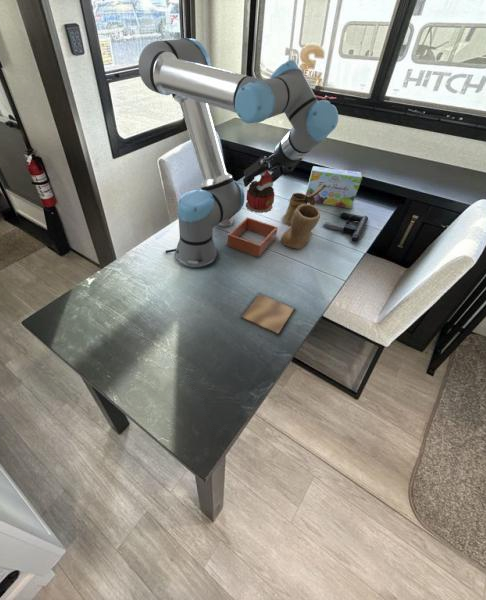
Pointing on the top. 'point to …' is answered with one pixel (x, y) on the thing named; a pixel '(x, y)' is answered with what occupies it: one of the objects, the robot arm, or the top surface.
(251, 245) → the orange square tray
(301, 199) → the brown watering can
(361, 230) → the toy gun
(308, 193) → the snack box
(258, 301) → the cork mat
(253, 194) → the cake
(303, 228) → the tan boot
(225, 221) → the mug
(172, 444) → the top surface
